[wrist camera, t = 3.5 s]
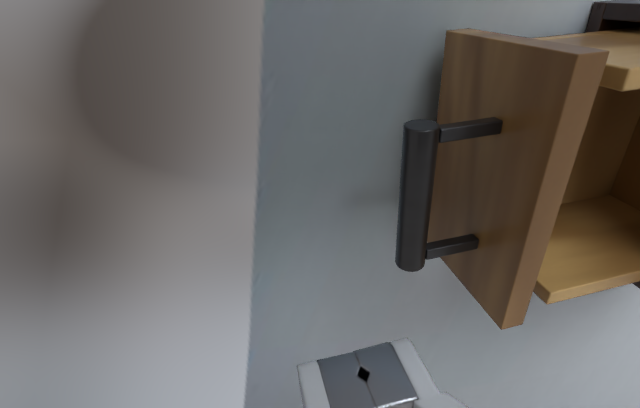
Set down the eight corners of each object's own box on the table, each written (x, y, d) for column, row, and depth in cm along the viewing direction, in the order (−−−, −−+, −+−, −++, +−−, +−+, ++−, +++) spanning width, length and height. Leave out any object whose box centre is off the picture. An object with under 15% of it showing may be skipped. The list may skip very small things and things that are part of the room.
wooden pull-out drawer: (362, 250, 24) (419, 351, 17) (363, 37, 17) (454, 68, 11) (596, 203, 27) (720, 273, 20) (670, 9, 20) (884, 19, 14)
